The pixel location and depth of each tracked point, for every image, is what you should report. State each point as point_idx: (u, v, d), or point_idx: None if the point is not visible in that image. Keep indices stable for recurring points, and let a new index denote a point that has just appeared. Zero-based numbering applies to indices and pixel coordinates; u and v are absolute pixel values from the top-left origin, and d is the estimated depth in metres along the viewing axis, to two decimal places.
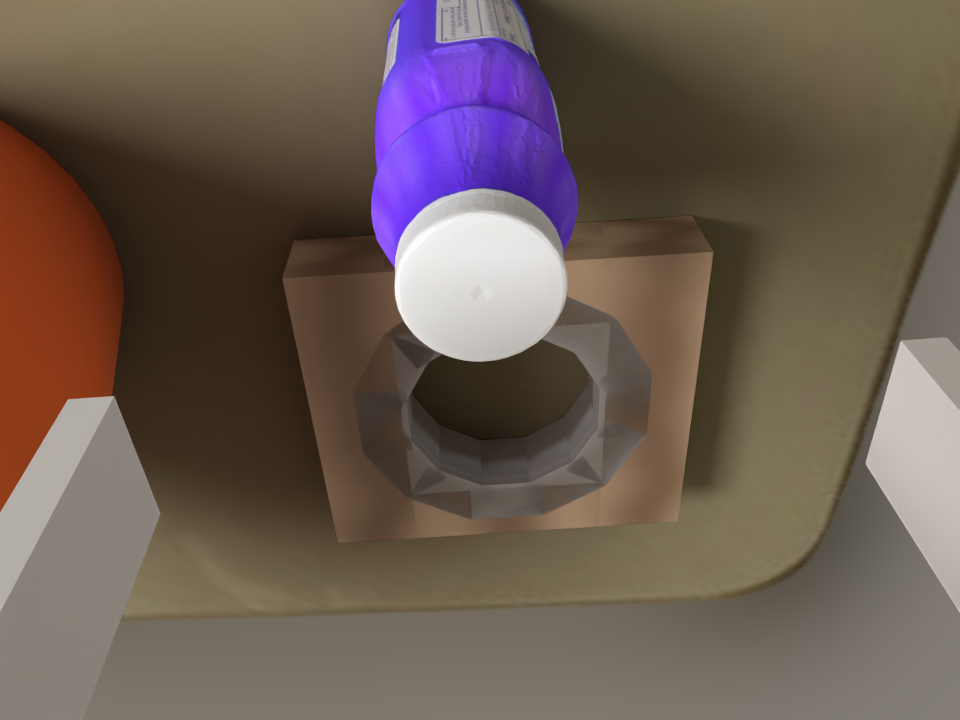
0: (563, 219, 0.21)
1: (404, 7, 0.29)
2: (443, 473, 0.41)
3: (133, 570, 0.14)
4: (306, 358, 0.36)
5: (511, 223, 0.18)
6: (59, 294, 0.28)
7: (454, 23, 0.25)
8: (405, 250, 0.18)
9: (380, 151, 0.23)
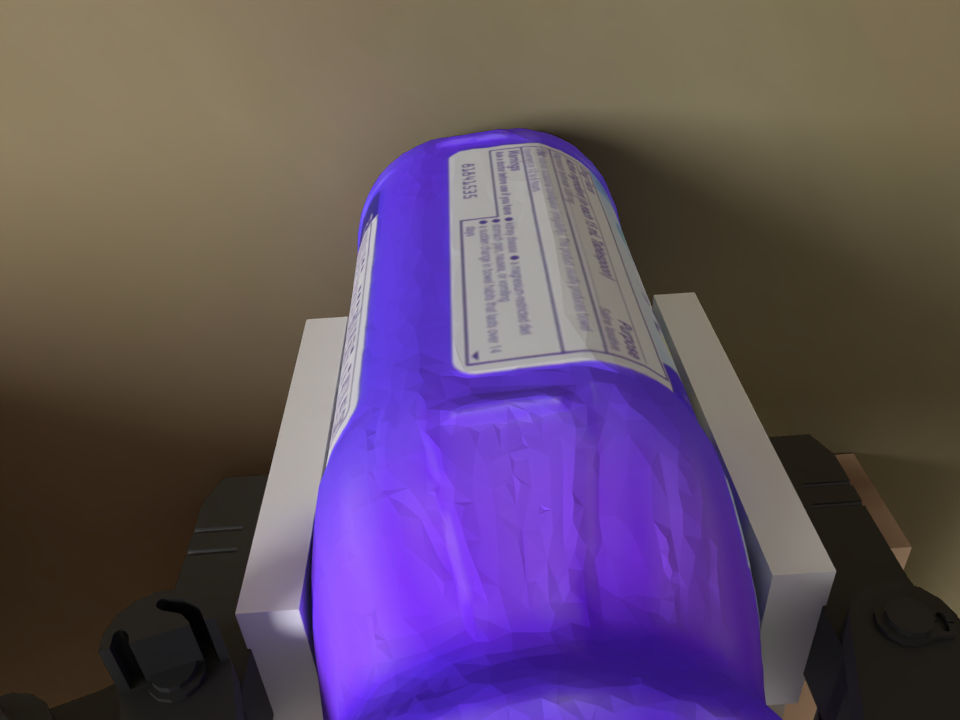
0: None
1: (387, 186, 0.15)
2: None
3: None
4: None
5: None
6: None
7: (491, 286, 0.11)
8: None
9: (319, 655, 0.09)
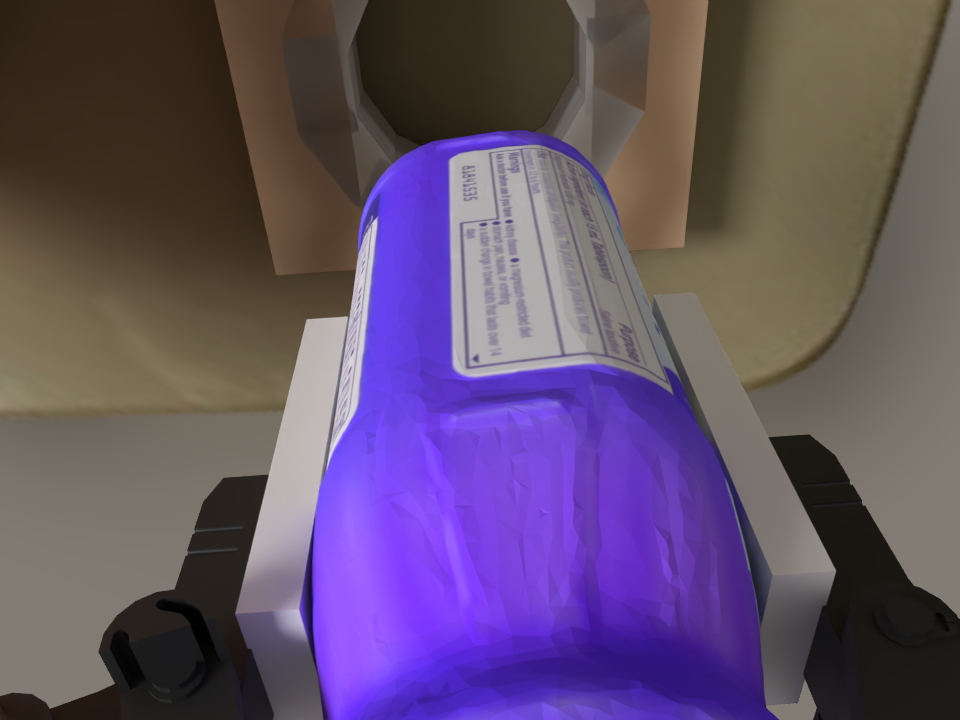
0: None
1: (387, 188, 0.15)
2: None
3: None
4: None
5: None
6: None
7: (491, 289, 0.11)
8: None
9: (320, 658, 0.09)
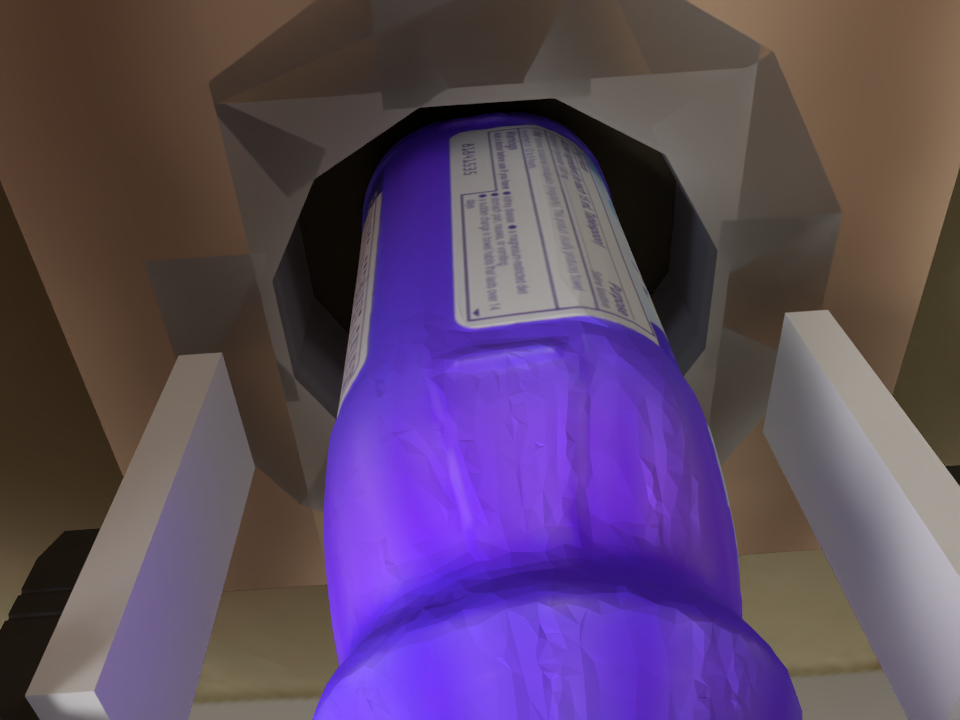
0: None
1: (391, 166, 0.16)
2: None
3: (238, 516, 0.14)
4: (13, 167, 0.15)
5: None
6: None
7: (490, 252, 0.12)
8: None
9: (332, 586, 0.10)
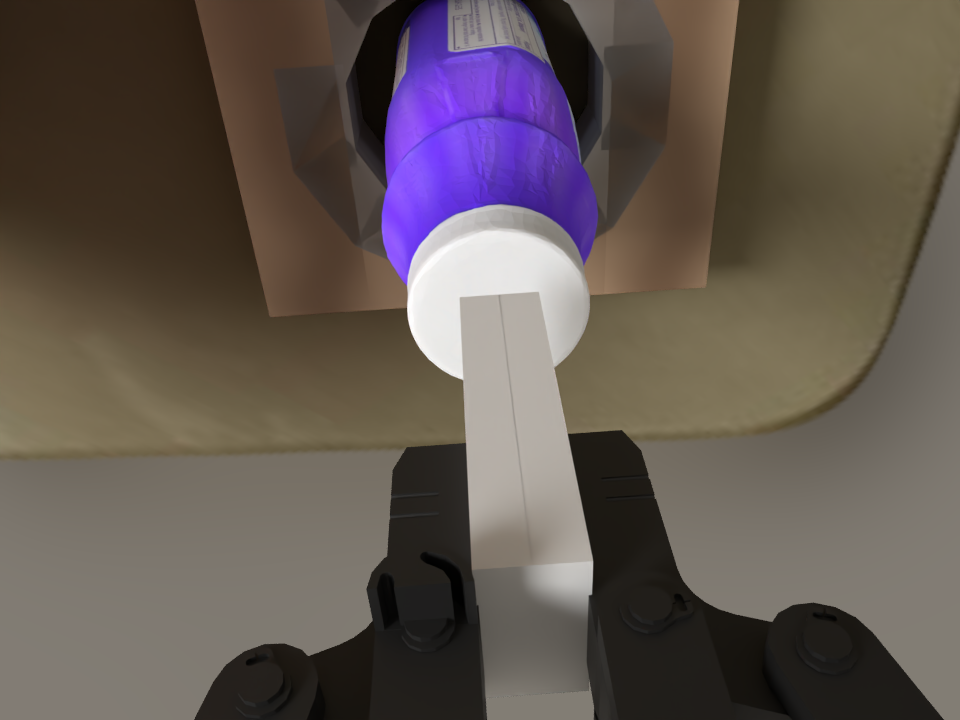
0: (583, 235, 0.20)
1: (414, 15, 0.28)
2: None
3: None
4: (206, 8, 0.27)
5: (530, 241, 0.17)
6: None
7: (466, 31, 0.24)
8: (418, 270, 0.17)
9: (390, 164, 0.22)
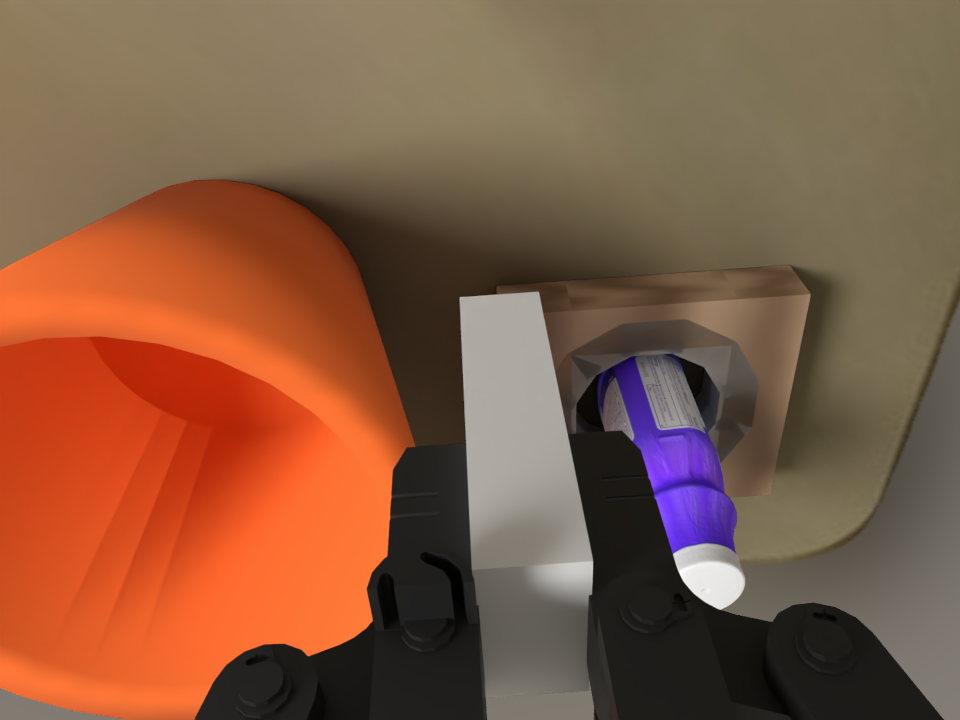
0: None
1: (615, 366, 0.51)
2: None
3: None
4: None
5: (723, 565, 0.40)
6: (377, 332, 0.42)
7: (660, 407, 0.47)
8: None
9: None
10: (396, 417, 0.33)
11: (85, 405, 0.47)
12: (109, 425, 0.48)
